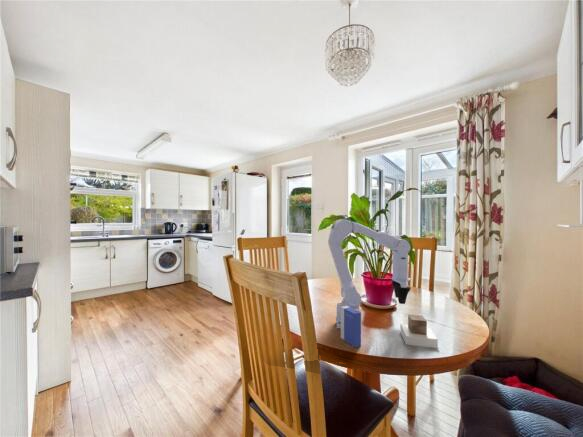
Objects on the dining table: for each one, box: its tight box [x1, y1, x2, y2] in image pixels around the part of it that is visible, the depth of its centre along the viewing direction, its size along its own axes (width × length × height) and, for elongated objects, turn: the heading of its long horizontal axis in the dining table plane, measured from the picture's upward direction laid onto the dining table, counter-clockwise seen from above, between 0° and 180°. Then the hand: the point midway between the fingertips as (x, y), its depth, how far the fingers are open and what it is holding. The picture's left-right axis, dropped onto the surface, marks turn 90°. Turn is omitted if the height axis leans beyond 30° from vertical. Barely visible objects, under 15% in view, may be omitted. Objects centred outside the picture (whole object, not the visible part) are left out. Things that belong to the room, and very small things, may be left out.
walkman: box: [340, 306, 362, 348], centre depth 88 cm, size 8×3×12 cm, turn 26°
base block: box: [399, 323, 439, 349], centre depth 90 cm, size 10×10×3 cm
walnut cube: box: [407, 313, 428, 335], centre depth 90 cm, size 5×5×5 cm
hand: (400, 300), depth 101 cm, fingers open, 7 cm apart
